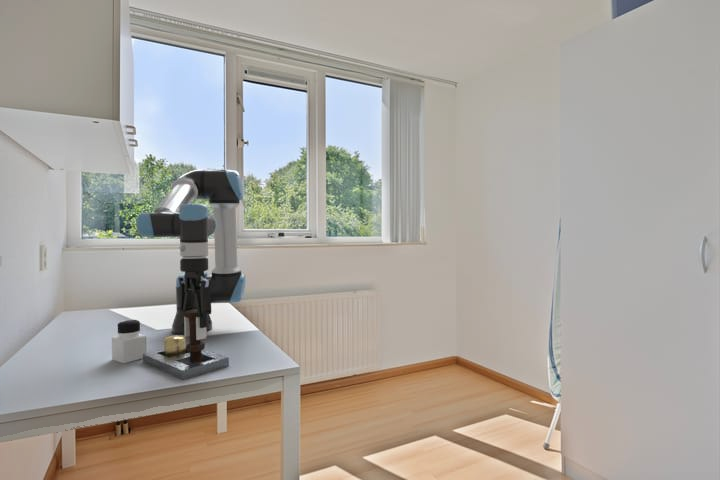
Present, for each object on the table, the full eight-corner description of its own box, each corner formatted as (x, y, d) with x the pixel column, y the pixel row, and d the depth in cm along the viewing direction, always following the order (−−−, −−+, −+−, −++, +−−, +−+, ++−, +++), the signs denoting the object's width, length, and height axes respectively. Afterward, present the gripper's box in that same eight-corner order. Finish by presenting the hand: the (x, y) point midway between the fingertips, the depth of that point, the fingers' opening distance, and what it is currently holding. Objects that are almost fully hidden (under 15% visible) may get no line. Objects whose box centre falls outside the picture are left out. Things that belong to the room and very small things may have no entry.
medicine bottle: (146, 357, 126) (146, 320, 126) (123, 364, 120) (122, 324, 120) (135, 354, 130) (134, 317, 130) (111, 360, 124) (111, 321, 124)
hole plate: (142, 362, 121) (142, 339, 121) (186, 351, 132) (186, 330, 132) (183, 379, 106) (182, 353, 106) (228, 365, 117) (228, 342, 117)
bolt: (197, 365, 112) (196, 312, 112) (181, 364, 113) (180, 312, 113) (209, 359, 118) (208, 309, 118) (194, 358, 119) (193, 308, 119)
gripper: (165, 257, 118) (166, 334, 118) (199, 259, 106) (200, 345, 107) (189, 255, 124) (190, 329, 124) (224, 257, 112) (225, 339, 113)
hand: (195, 336), depth 116 cm, fingers closed on bolt, 6 cm apart
